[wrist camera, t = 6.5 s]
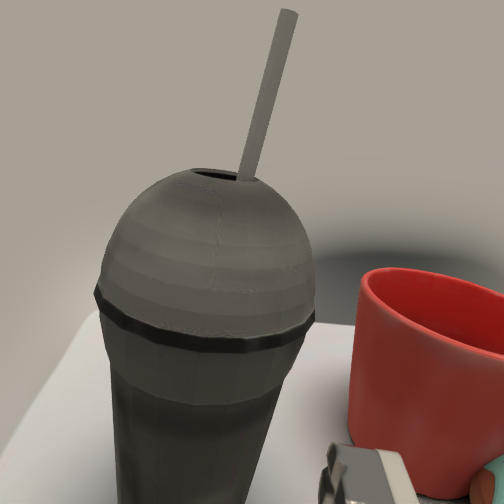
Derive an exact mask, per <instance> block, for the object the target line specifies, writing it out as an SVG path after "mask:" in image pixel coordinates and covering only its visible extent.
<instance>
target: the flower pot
mask: <svg viewBox="0 0 504 504" xmlns="http://www.w3.org/2000/svg"><path fill="white" fill-rule="evenodd" d="M348 428H349V432H350V435H351V438H352V440H353V442H354V444H355V446H360V447H366V448H372V449H381V450H388V451H394V452H398V453H399V454H400V455H401V457H402V460H403V463H404V465H405V468H406V470H407V473H408V475H409V478H410V480H411V483H412V485H413V488H414V490H415V493H419V494H424V495H426V496H429V497H432V498H437V499H457V498H461V497H464V496H466V495H468V494H469V493H470V485H471V479H472V478H473V476H474V475H475V474H476V473H477V472H478V471H479V470H480V469H482V468H483V467H484V466H485V465H486V464H488V463H489V462H491V461H492V460H494V459H496V458H498V457H500V456H501V455H503V454H504V295H503V294H501V293H498V292H495V291H493V290H490V289H488V288H485V287H483V286H480V285H477V284H474V283H471V282H468V281H465V280H461V279H458V278H454V277H450V276H445V275H441V274H437V273H432V272H427V271H421V270H414V269H406V268H381V269H376V270H372V271H369V272H367V273H366V274H365V275H364V276H363V277H362V279H361V283H360V290H359V298H358V306H357V315H356V325H355V334H354V344H353V353H352V363H351V374H350V386H349V405H348Z"/></svg>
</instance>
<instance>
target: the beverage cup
mask: <svg viewBox="0 0 504 504" xmlns="http://www.w3.org/2000/svg"><path fill="white" fill-rule="evenodd" d="M297 18H298V14H297V13H296V12H294V11H292V10H289V9H281V10H280V14H279V18H278V22H277V26H276V30H275V33H274V37H273V41H272V45H271V49H270V53H269V57H268V61H267V64H266V68H265V72H264V75H263V79H262V83H261V87H260V91H259V95H258V98H257V102H256V106H255V110H254V114H253V117H252V121H251V125H250V129H249V133H248V137H247V141H246V144H245V148H244V152H243V156H242V159H241V163H240V167H239V171H238V173H236V172H230V171H225V170H216V169H207V168H194V169H189V170H186V171H182V172H179V173H175V174H172V175H170V176H168V177H166V178H164V179H162V180H160V181H158V182H156V183H155V184H154V185H152V186H151V187H149V188H148V189H146V190H145V191H144V192H142V193H141V194H140V195H139V196H138V197H137V198H136V199H135V200H134V201H133V202H132V203H131V204H130V206H129V207H128V208H127V210H126V211H125V213H124V214H123V215H122V217H121V218H120V220H119V222H118V224H117V226H116V228H115V230H114V232H113V234H112V237H111V238H110V240H109V243H108V245H107V247H106V251H105V254H104V258H103V261H102V266H101V274H100V277H99V279H98V282H97V284H96V287H95V290H94V293H93V294H94V297H95V300H96V302H97V305H98V308H99V311H100V316H99V317H100V323H101V328H102V333H103V338H104V343H105V348H106V351H107V354H108V357H109V360H110V372H111V390H112V408H113V426H114V444H115V462H116V480H117V498H118V504H245V501H246V498H247V495H248V492H249V488H250V485H251V482H252V479H253V476H254V473H255V470H256V466H257V463H258V460H259V457H260V454H261V451H262V448H263V444H264V441H265V438H266V435H267V432H268V429H269V426H270V422H271V419H272V416H273V413H274V410H275V407H276V403H277V400H278V397H279V394H280V391H281V388H282V385H283V381H284V379H285V377H286V376H287V374H288V373H289V371H290V370H291V368H292V366H293V364H294V361H295V359H296V357H297V355H298V353H299V351H300V348H301V346H302V344H303V342H304V339H305V335H306V333H307V331H308V330H309V329H310V327H311V326H312V324H313V323H314V322H315V308H314V295H315V271H314V262H313V256H312V251H311V246H310V242H309V239H308V236H307V234H306V231H305V229H304V227H303V225H302V223H301V221H300V219H299V218H298V216H297V214H296V213H295V211H294V210H293V209H292V208H291V206H290V205H289V204H288V202H287V201H286V200H285V199H284V198H283V197H281V196H280V195H279V194H278V193H277V192H276V191H275V190H274V189H273V188H271V187H270V186H268V185H267V184H265V183H264V182H262V181H261V180H259V179H257V178H255V177H254V176H255V172H256V168H257V165H258V161H259V157H260V154H261V150H262V147H263V143H264V139H265V136H266V132H267V128H268V125H269V121H270V117H271V114H272V110H273V106H274V102H275V99H276V95H277V92H278V88H279V84H280V80H281V77H282V73H283V69H284V65H285V62H286V59H287V55H288V51H289V47H290V44H291V40H292V37H293V33H294V29H295V26H296V22H297Z"/></svg>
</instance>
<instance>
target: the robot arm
mask: <svg viewBox="0 0 504 504" xmlns="http://www.w3.org/2000/svg"><path fill="white" fill-rule="evenodd" d="M326 456H327V463H328V467H326V468H325V469H323V470H322V473H321V477H320V482H319V491H318V504H420V503H419V500H418V498H417V495H416V493H415V490H414V488H413V485H412V483H411V480H410V478H409V475H408V473H407V470H406V468H405V465H404V463H403V460H402V457H401V455H400V454H399V453H398V452H394V451H388V450H381V449H372V448H366V447H360V446H354V445H347V444H341V443H335V442H331V444H330V446H329V448H328V451H327V455H326Z"/></svg>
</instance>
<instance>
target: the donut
mask: <svg viewBox="0 0 504 504" xmlns="http://www.w3.org/2000/svg"><path fill="white" fill-rule="evenodd" d="M469 496H470V502H471V504H504V454H503V455H501V456H500V457H498V458H496V459H494V460H492V461H491V462H489V463H488V464H486V465H485V466H484V467H483V468H482V469H480V470H479V471H478V472H477V473H476V474H475V475H474V476H473V478H472V479H471V485H470V493H469Z"/></svg>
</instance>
